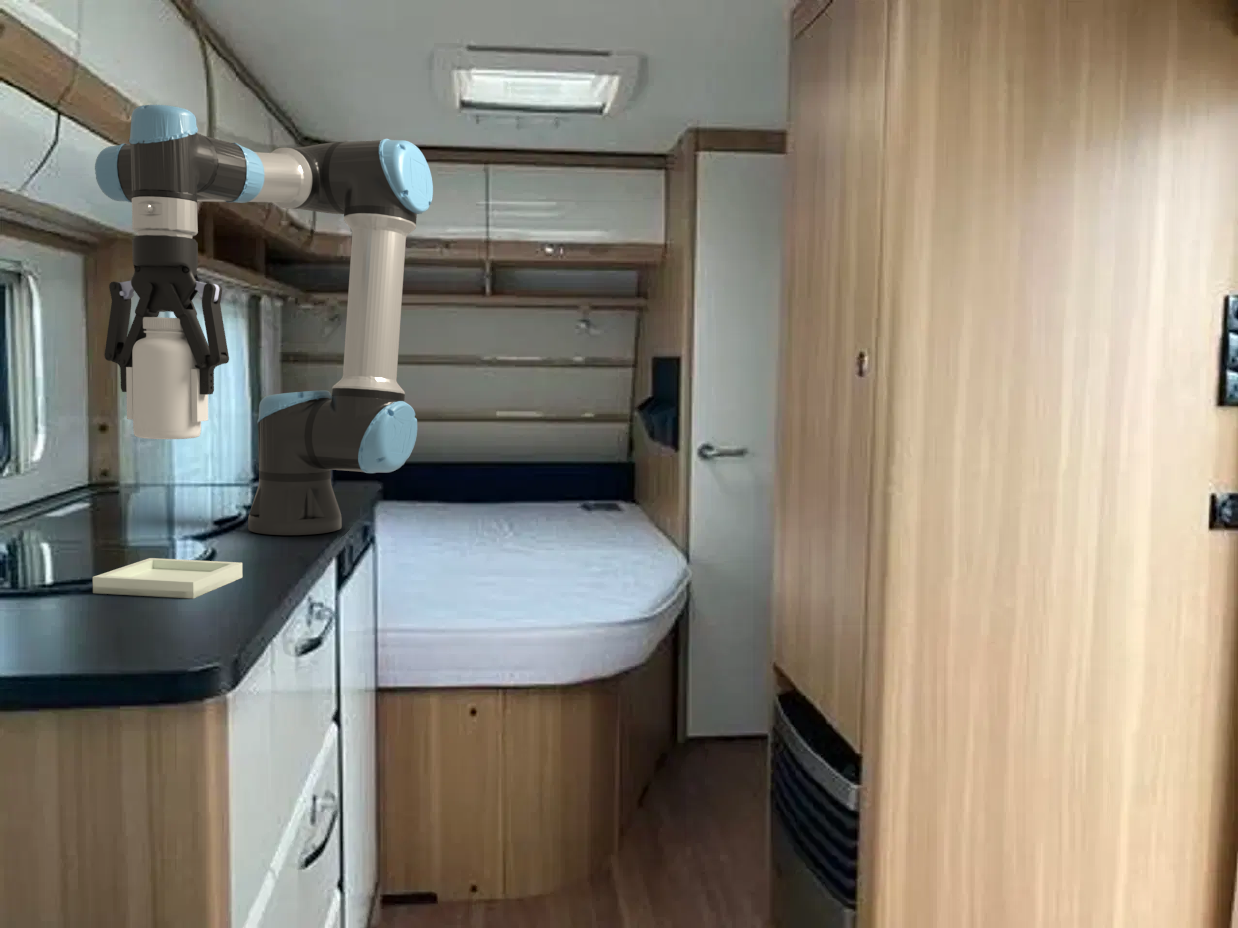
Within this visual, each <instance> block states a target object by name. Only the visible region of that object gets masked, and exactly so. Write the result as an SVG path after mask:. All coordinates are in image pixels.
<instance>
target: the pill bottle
mask: <svg viewBox="0 0 1238 928" xmlns="http://www.w3.org/2000/svg"><path fill="white" fill-rule="evenodd" d="M143 328H144V329H146V331H144V333H146V338H143V339H140V340H138V341H137V342H136V343H135V344H134V346H133V351H132V359H133V419H132V429H133V435H134V436H135V437H136V438H139V439H147V440H148V439H149V440H150V439H151V440H186V439H187V440H188V439H196V438H198V437H201V431H202V421H199V422H192V402H191V369H198V368H196V367H195V365H197V363H196V361H195V359H194V356H193V354H192V351H191V349H190V346H189V344H188V341H187V339H186V337H185V334H184V332H183V329H182V327H181V324H180V319H179V318H176V317H159V316H158V317H144V318H143Z"/></svg>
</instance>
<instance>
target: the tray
mask: <svg viewBox="0 0 1238 928" xmlns="http://www.w3.org/2000/svg"><path fill="white" fill-rule="evenodd" d="M240 579H243V562H237V561H236V562H235V561H234V562H233V561H219V560H218V561H215V560H213V561H212V560H211V561H210V560H199V559H198V560H196V559H193V560H192V559H177V558H175V559H174V558H155V557H149V558H146V559H143V560H140V561H137V562H134V563H131V564H128V565H125V566H122V567H119V568H116V569H113V570H110V571H107V572H104V573H100V574H98V575H95V576H92V593H93V594H101V595H102V594H103V595H107V594H108V595H121V596H122V595H124V596H139V597H141V596H142V597H143V596H144V597H157V598H158V597H159V598H175V599H176V598H178V599H179V598H180V599H195V598H196V599H197V598H198V597H201V596H203V595H204V594H208V593H209V592H211V591H212V592H213V591H215V590H217V589H219V588H221V587H223V586H226V585H229V584H231V583H234V582H235V581H237V580H240Z"/></svg>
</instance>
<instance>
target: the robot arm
mask: <svg viewBox="0 0 1238 928" xmlns="http://www.w3.org/2000/svg"><path fill="white" fill-rule="evenodd" d="M198 131H199V127H197V118H196V115H195V114H194V113H193V112H192V111H190V109H186V108H183V107H180V106H179V107H178V106H173V105H166V104H165V105H164V104H144V105H140V106H137V107H136V108H134V109H133V110H132V113H131V121H130V135H129V140H128V141H129V143H121V144H119V145H117V144H116V145H111V146H108V147H105V148H103V149H102V150H101V151H100V152H99V154H98V155H97V156H96V157H97V158H96V159H95V164H94V174H95V180H96V183H97V184H98V185H97V186H98V187H99V189H100V190H101V192H102V193H103V194H104V195H105V196H106V197H107V198H109V199H111V200H112V201H115V202H126V203H127V202H128V203H131V219H132V220H131V223H132V225H131V226H132V231H133V232H135V233H137V235H135V236H133V238H132V241H131V243H132V244H131V245H132V246H131V247H132V263H133V264H132V265H133V268H134V271H133V275H132V277H131V279H130V280H127V281H121V282H120V281H110V283H109V292H110V298H111V304H110V311H109V319H108V326H107V333H106V342H105V347H104V348H105V349H104V359H105V360H106V361H109V362H112V363H115V364H117V365H118V366H119V370H120V390H121V393H122V392H123V393H126V419H127V420H133V359H132V351H133V346H134V344H135V343H136V342H137V341H138V340H140V339H143V338H146V333H144V331H146V329H144V328H143V318H144V317H159V316H160V315H159V314H160V313H166V312H169V313H173V314H174V317H175V318H179V319H180V324H181V327H182V329H183V332H184V334H185V337H186V339H187V341H188V344H189V346H190V349H191V351H192V354H193V356H194V359H195V361H196V363H197V365H195V367H196V368H198V369H191V402H192V422H199V421H201V422H205V421H209V395H213V394H214V391H215V369H216V368H217V367H218V366H221V365H225V364H228V363H229V361H230V356H229V349H228V344H227V343H228V342H227V338H226V331H225V325H224V319H223V314H222V307H221V300H222V295H223V294H222V293H223V287H222V286H221V284H216V283H206V282H201V279H200V278H199V276H198V273H197V272H198V271H197V270H198V266H199V253H198V252H199V251H198V250H199V247H198V246H199V245H198V241H197V240H196V239H195V238H193V237H195V236H197V234H198V233H199V231H198V230H199V229H198V228H199V227H198V202H216V203H217V202H218V203H220V202H221V203H222V202H223V203H225V202H226V203H230V204H231V203H239V204H240V203H241V204H246V203H273V204H274V205H275V206H276V207H279V208H282V209H288V210H289V209H290V210H293V209H295V210H302V211H303V210H304V211H310V212H317V213H325V214H330V215H331V214H332V215H333V214H334V215H343V222H344V223H346V225H347V226H348V227H349V228H350V230H351V232H352V233H351V234H352V235H351V251H350V262H349V263H350V264H349V278H348V280H349V281H348V292H347V293H348V297H347V308H346V323H345V325H346V326H345V340H344V355H343V370H342V377H341V379H340V380H339V381H337V382H336V383H335V384H333V386H332V388H331V391H332V392H330V391H329V390H326V389H325V390H324V389H321V390H320V389H319V390H318V389H317V390H309V391H308V390H305V391H295V392H284V393H275V394H269V395H265V397H263V398H262V399H261V400H260V402H259V404H258V405H259V407H258V419H257V426H258V427H257V432H258V434H257V435H258V436H257V437H258V486H257V489H256V492H255V496H254V498H253V502H252V505H251V508H250V510H249V514H248V518H247V522H248V527H247V528H248V531H250V532H252V533H256V534H262V535H274V536H307V535H309V536H310V535H317V534H318V535H319V534H327V533H332V532H336V531H339V530H341V529H342V514H341V510H340V507H339V503H338V501H337V499H336V498H337V497H336V494H335V492H334V489H333V486H332V474H331V473H332V471H331V470H334V471H335V470H336V471H347V472H348V471H349V472H361V473H366V474H376V473H392V472H394V471H396V470H399V469H400V468H401V467H402V466H404V465H405V463H406V462H407V460H408V459H409V457H410V456H411V454H412V452H413V450H414V448H415V445H416V442H417V435H418V419H417V418H416V417H415V416H416V411H415V410H414V408H413V406H412V405H410V404H409V403H407V402H406V401H405V397H406V392H405V390H404V389H403V388H402V387H401V386H400V384H399V383H398V381H397V378H398V377H397V375H398V362H399V360H398V359H399V350H400V349H399V346H400V345H399V344H400V334H401V333H400V332H401V329H400V328H401V317H402V300H403V288H404V285H403V284H404V270H405V259H406V257H405V255H406V244H407V243H406V242H407V241H406V240H407V237H408V235H409V234H411V233H412V232H413V231H414V230H415V229H416V228H417V217H418V216H417V215H422V214H423V213H425V212H426V211H428V210H429V208H430V206H431V204H432V201H433V196H434V183H433V178H432V172H431V169H430V166H429V163H428V162H427V160H426V157H425V155H424V154H423V152H422V151H421V150H420V148H419V147H418V146H416V145H415V144H414V143H412V142H411V141H408V140H405V139H403V140H400V139H389V138H384V139H382V140H379V139H378V140H363V141H362V140H361V141H345V142H342V141H341V142H338V141H337V142H334V141H333V142H327V143H320V144H315V145H314V144H313V145H307V146H300V147H279V148H276V149H274V150H272V151H271V152H259V151H253V150H252V149H250V148H248V147H246V146H245V147H244V146H243V145H240V144H239V143H237V142H229V141H226V140H221V139H218V138H214V137H210V136H206V135H203V134H201V133H199V132H198ZM134 292H135V293H134ZM198 293H199V294H198ZM135 294H136V295H137V297H138V298H139V300H138V302H137V305H136V306H135V310H134V313H135V314H134V318H133V321H132V323H131V326H130V328H129V325H130V317H131V309H132V298H133V297H134V296H135ZM197 294H198V297H199V299H200V300H201V309H202V315H203V319H204V326H205V333H206V335H205V333H204V332H203V331H204V330H203V328H202V326H201V324H200V322H199V318H198V312H197V308H196V307H195V305H194V301H193V299H195V297H196V295H197ZM206 337H207V338H206Z"/></svg>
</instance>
